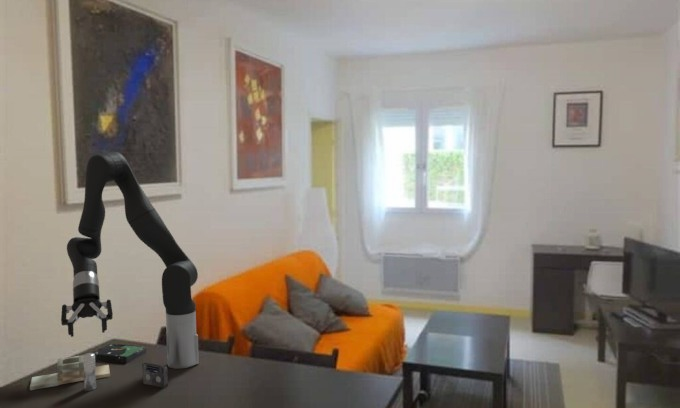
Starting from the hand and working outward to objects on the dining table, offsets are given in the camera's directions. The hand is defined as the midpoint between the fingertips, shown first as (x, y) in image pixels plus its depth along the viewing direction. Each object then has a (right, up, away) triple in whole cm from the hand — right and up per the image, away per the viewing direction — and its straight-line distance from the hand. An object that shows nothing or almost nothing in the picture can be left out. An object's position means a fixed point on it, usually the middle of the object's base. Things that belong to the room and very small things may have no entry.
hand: (88, 333), depth 155 cm
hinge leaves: (-5, -14, 0) cm, 15 cm away
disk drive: (+1, -13, +19) cm, 23 cm away
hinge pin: (+4, -14, -8) cm, 17 cm away
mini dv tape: (+22, -14, -5) cm, 27 cm away
